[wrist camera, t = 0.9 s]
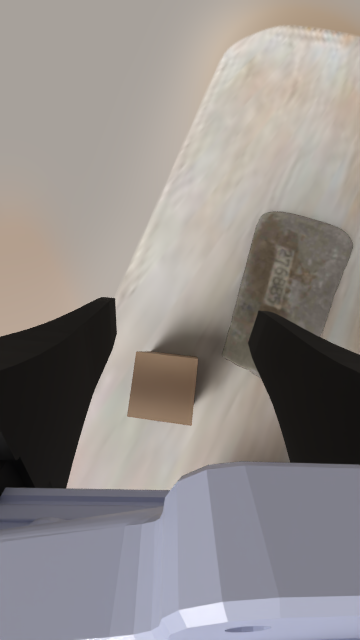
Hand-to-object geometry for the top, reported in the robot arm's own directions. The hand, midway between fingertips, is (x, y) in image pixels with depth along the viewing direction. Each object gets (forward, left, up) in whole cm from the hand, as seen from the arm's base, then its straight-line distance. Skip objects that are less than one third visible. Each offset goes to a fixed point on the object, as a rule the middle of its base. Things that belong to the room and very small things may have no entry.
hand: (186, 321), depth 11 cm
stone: (+6, -9, -13) cm, 17 cm away
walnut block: (-4, +2, -12) cm, 13 cm away
